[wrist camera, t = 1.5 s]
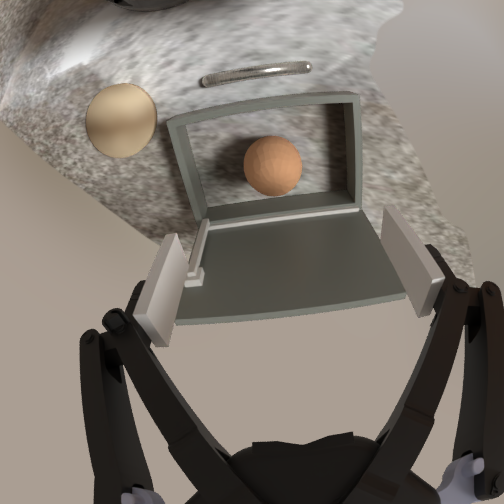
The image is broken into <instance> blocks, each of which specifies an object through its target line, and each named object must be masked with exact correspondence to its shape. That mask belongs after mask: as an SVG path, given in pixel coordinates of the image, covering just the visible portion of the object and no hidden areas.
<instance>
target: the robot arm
mask: <svg viewBox="0 0 504 504" xmlns="http://www.w3.org/2000/svg"><path fill="white" fill-rule="evenodd" d="M107 1H108V2H110V3H111V4H114V5H116V6H119V7H122V8H125V9H129V10H133V11H156V10H162V9H167V8H170V7H174V6H177V5H180V4H182V3H185V2H187V1H189V0H107ZM380 242H381V244H382V246H383V248H384V250H385V251H386V253H387V255H388V257H389V259H390V261H391V263H392V265H393V266H394V268H395V270H396V272H397V274H398V276H399V278H400V280H401V282H402V284H403V286H404V288H405V291H406V293H407V295H408V297H409V299H410V301H411V303H412V305H413V308H414V310H415V312H416V314H417V317H418V318H420V317H424V316H428V315H430V314H431V311H432V309H433V308H434V310H435V312H436V314H435V316H434V319H433V321H432V323H431V325H430V326H431V328H430V331H429V333H428V336H427V339H426V342H425V344H424V347H423V349H422V352H421V354H420V357H419V359H418V361H417V364H416V366H415V368H414V371H413V373H412V375H411V377H410V379H409V381H408V383H407V385H406V388H405V390H404V392H403V394H402V396H401V398H400V400H399V402H398V403H397V405H396V407H395V409H394V411H393V413H392V415H391V416H390V418H389V420H388V422H387V423H386V425H385V426H384V428H383V429H382V431H381V432H380V433H379V435H378V437H377V438H376V440H375V441H373V440H370V439H368V438H365V437H360V436H353V432H348V433H343V434H337V435H331V436H327V437H324V438H322V439H319V440H316V441H313V442H311V443H308V444H305V445H299V444H291V443H285V442H279V441H272V442H271V441H270V442H253V443H252V447H248V448H245V449H243V450H241V451H239V452H237V453H236V454H234V455H233V456H231V455H230V454H229V453H228V452H227V451H226V450H225V449H224V448H223V447H222V446H221V445H220V444H219V443H218V441H217V440H216V439H215V438H214V437H213V436H212V434H211V433H210V432H209V431H208V430H207V428H206V427H205V426H204V424H203V423H202V422H201V421H200V419H199V418H198V417H197V415H196V414H195V413H194V411H193V410H192V409H191V407H190V406H189V405H188V403H187V402H186V400H185V399H184V398H183V396H182V395H181V393H180V392H179V391H178V389H177V388H176V386H175V385H174V383H173V382H172V380H171V379H170V378H169V376H168V374H167V373H166V371H165V370H164V368H163V367H162V365H161V364H160V362H159V361H158V359H157V357H156V356H155V354H154V353H153V351H152V349H151V348H150V344H151V341H152V343H153V344H154V345H155V347H169V342H170V338H171V334H172V330H173V326H174V322H175V318H176V314H177V310H178V306H179V302H180V298H181V294H182V291H183V287H184V283H185V280H186V276H187V272H188V269H189V263H188V261H187V259H186V256H185V253H184V251H183V248H182V246H181V243H180V241H179V238H178V235H177V233H172V234H166V235H165V237H164V240H163V242H162V244H161V246H160V249H159V251H158V253H157V255H156V258H155V260H154V262H153V265H152V267H151V270H150V272H149V274H148V277H147V279H146V280H143V281H140V282H139V283H138V284H137V286H135V288H134V290H133V293H132V296H131V298H130V301H129V303H128V305H127V307H126V310H125V312H123V311H122V309H119V308H115V309H112V310H109V311H108V312H107V313H106V314H105V315H104V317H103V319H102V325H103V326H104V327H105V329H106V330H107V332H104V333H101V334H99V333H98V331H96V330H95V329H90V330H87V331H86V332H85V333H84V334H83V335H82V336H81V338H80V380H81V394H82V405H83V414H84V422H85V429H86V436H87V442H88V447H89V453H90V458H91V463H92V468H93V472H94V476H95V480H94V504H165V502H164V501H163V499H162V498H161V496H160V495H159V494H158V493H156V492H154V488H153V483H152V479H151V476H150V472H149V469H148V466H147V463H146V460H145V457H144V454H143V450H142V447H141V443H140V440H139V437H138V433H137V429H136V425H135V421H134V417H133V413H132V409H131V404H130V400H129V395H128V390H127V385H126V381H125V375H124V369H123V365H124V366H125V368H126V370H127V372H128V374H129V376H130V378H131V380H132V382H133V384H134V386H135V388H136V390H137V392H138V394H139V395H140V397H141V399H142V401H143V403H144V405H145V406H146V408H147V410H148V412H149V413H150V415H151V417H152V419H153V420H154V422H155V423H156V425H157V426H158V428H159V430H160V431H161V433H162V435H163V436H164V438H165V439H166V441H167V443H168V445H169V446H168V449H169V452H170V453H171V455H172V456H173V458H174V459H175V461H176V462H177V464H178V465H179V466H180V468H181V469H182V471H183V472H184V473H185V475H186V476H187V477H188V479H189V480H190V481H191V483H192V484H193V485H194V486H195V488H196V489H197V490H198V491H197V492H196V493H195V494H194V495H193V496H192V497H191V498H190V499H189V500H188V501H187V502H186V503H185V504H471V503H473V502H479V501H484V500H489V499H493V498H496V497H499V496H500V495H501V494H503V492H504V307H503V301H502V296H501V292H500V289H499V287H498V286H497V285H496V284H494V283H493V282H490V281H486V282H484V283H483V284H482V286H481V288H473V287H469V285H468V284H467V283H466V282H465V281H463V280H462V279H458V278H456V277H455V275H454V274H453V272H452V271H451V269H450V268H449V266H448V265H447V263H446V262H445V260H444V259H443V257H441V254H440V253H439V251H438V250H437V249H436V248H435V247H433V246H432V245H431V244H428V245H424V244H423V242H422V241H421V240H420V238H419V237H418V235H417V234H416V233H415V231H414V230H413V229H412V227H411V226H410V224H409V223H408V222H407V220H406V219H405V218H404V217H403V215H402V214H401V213H400V211H399V210H398V209H397V208H396V206H395V205H390V206H384V211H383V221H382V230H381V239H380ZM464 325H465V361H464V362H465V363H464V380H463V392H462V400H461V408H460V415H459V421H458V427H457V433H456V438H455V443H454V449H453V459H452V463H450V464H449V465H448V467H447V468H446V470H445V472H444V474H443V478H442V482H441V484H440V486H439V487H438V488H437V489H436V490H435V489H434V488H433V487H432V486H431V485H429V484H428V483H427V482H425V481H424V480H423V479H421V478H420V477H419V476H417V475H416V474H415V473H413V472H412V471H411V470H410V469H411V467H412V466H413V464H414V462H415V461H416V459H417V457H418V455H419V453H420V451H421V450H422V448H423V446H424V444H425V442H426V439H427V438H428V436H429V434H430V431H431V429H432V427H433V424H434V420H435V419H434V414H435V412H436V409H437V407H438V405H439V402H440V399H441V397H442V395H443V392H444V389H445V387H446V384H447V381H448V378H449V375H450V372H451V369H452V366H453V363H454V360H455V356H456V353H457V349H458V346H459V342H460V338H461V334H462V330H463V326H464Z"/></svg>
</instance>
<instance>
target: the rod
mask: <svg viewBox="0 0 504 504" xmlns="http://www.w3.org/2000/svg"><path fill="white" fill-rule="evenodd" d="M312 68H313V67H312V64H311V63H310V62H308V61H295V62H284V63H274V64H266V65H259V66H252V67H245V68H240V69H234V70H229V71H223V72H219V73H214V74H209V75H206V76H204V77H203V79H202V83H203V85H204V86H206V87H212V86H217V85H222V84H227V83H232V82H237V81H243V80H249V79H256V78H263V77H271V76H279V75H289V74H301V73H309V72H311V71H312Z"/></svg>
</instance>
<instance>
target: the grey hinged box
mask: <svg viewBox="0 0 504 504" xmlns="http://www.w3.org/2000/svg"><path fill="white" fill-rule="evenodd" d="M325 103H343V109H344V122H345V139H346V164H347V190H339V191H329V192H320V193H310V194H302V195H293V196H285V197H277V198H270V199H262V200H255V201H248V202H241V203H235V204H228V205H222V206H215V207H209V208H208V207H207V203H206V200H205V196H204V193H203V189H202V186H201V182H200V178H199V175H198V171H197V168H196V164H195V160H194V156H193V153H192V149H191V145H190V141H189V138H188V134H187V130H186V126H185V125H186V124H190V123H194V122H199V121H203V120H208V119H212V118H217V117H222V116H227V115H233V114H238V113H244V112H251V111H257V110H264V109H272V108H280V107H289V106H299V105H310V104H325ZM166 123H167V127H168V130H169V134H170V137H171V141H172V144H173V148H174V151H175V155H176V158H177V162H178V165H179V169H180V172H181V175H182V179H183V182H184V185H185V188H186V192H187V195H188V198H189V201H190V205H191V208H192V211H193V214H194V217H195V220H196V223H197V226H198V229H199V230H198V232H197V236H196V239H195V242H194V245H193V249H192V252H191V255H190V259H189V262H188V263H189V269H188V272H187V276H186V280H185V283H184V287H183V291H182V294H181V298H180V302H179V306H178V310H177V314H176V318H175V324H176V325H198V324H215V323H229V322H241V321H252V320H263V319H274V318H282V317H291V316H300V315H308V314H315V313H323V312H330V311H336V310H344V309H350V308H356V307H362V306H368V305H374V304H379V303H385V302H391V301H395V300H401V299H405V297H406V294H407V293H406V291H405V288H404V286H403V284H402V282H401V280H400V278H399V276H398V274H397V272H396V270H395V268H394V266H393V265H392V263H391V261H390V259H389V257H388V255H387V253H386V251H385V250H384V248H383V246H382V244H381V242H380V239H379V237H378V235H377V234H376V232H375V230H374V229H373V227H372V225H371V223H370V222H369V220H368V218H367V217H366V215H365V213H364V212H363V210H359V209H362V168H363V163H362V123H361V105H360V95H359V94H356V93H353V92H350V91H339V92H317V93H303V94H292V95H282V96H274V97H266V98H259V99H252V100H246V101H240V102H234V103H229V104H224V105H219V106H214V107H209V108H205V109H200V110H196V111H192V112H188V113H184V114H180V115H176V116H174V117H173V118H171V119H170V120H168V121H167V122H166Z"/></svg>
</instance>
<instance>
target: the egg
mask: <svg viewBox="0 0 504 504" xmlns="http://www.w3.org/2000/svg"><path fill="white" fill-rule="evenodd" d="M244 172H245V176H246V178H247V180H248V182H249V183H250V185H251V186H252V187H253V188H254V189H255V190H257V191H258V192H260V193H262V194H264V195H267V196H280V195H284V194H286V193H288V192H289V191H291V190H292V189H293V188H294V187H295V186H296V184H297V183H298V181H299V179H300V176H301V173H302V163H301V158H300V155H299V152H298V150H297V149H296V148H295V146H294V145H293V144H292V143H291V142H290V141H288V140H286V139H284V138H282V137H279V136H266V137H263V138H260V139H258V140H257V141H255V142H254V143H253V144H252V145H251V146H250V147H249V148H248V150H247V152H246V154H245V158H244Z"/></svg>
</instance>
